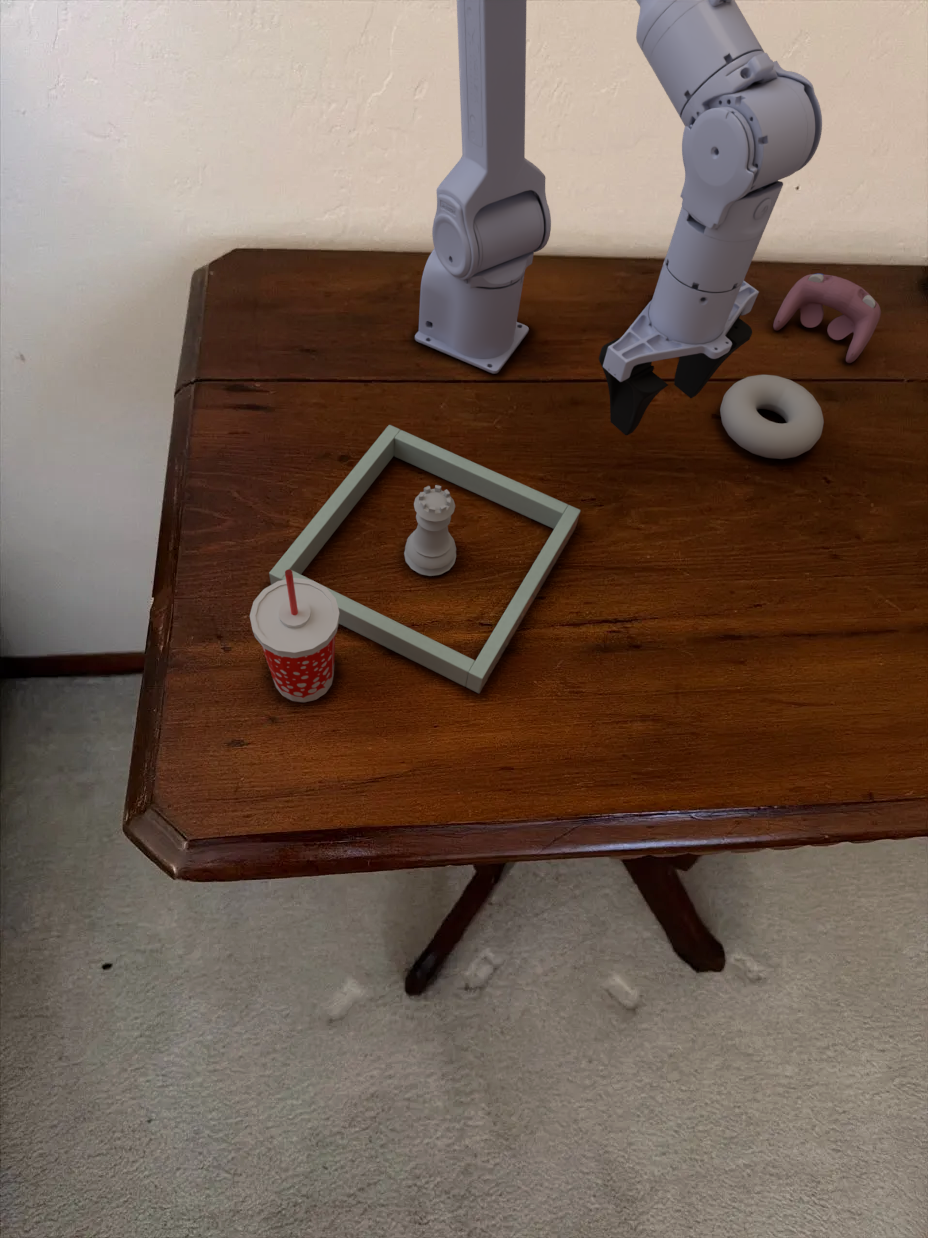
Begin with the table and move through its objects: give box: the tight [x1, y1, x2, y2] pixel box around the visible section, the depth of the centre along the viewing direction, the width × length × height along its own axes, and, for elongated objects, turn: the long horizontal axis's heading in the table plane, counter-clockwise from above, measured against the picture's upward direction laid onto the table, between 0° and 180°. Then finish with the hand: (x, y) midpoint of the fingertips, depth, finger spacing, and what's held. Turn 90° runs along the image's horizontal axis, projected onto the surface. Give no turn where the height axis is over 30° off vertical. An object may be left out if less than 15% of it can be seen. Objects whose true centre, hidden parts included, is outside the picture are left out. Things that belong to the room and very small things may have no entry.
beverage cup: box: [249, 569, 340, 703], centre depth 62 cm, size 6×6×14 cm
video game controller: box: [772, 272, 882, 364], centre depth 94 cm, size 10×5×7 cm, turn 58°
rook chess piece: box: [403, 484, 457, 577], centre depth 72 cm, size 4×4×8 cm
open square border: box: [268, 424, 582, 694], centre depth 74 cm, size 19×19×2 cm
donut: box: [719, 374, 825, 460], centre depth 86 cm, size 10×3×10 cm
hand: (653, 408), depth 73 cm, fingers open, 7 cm apart
